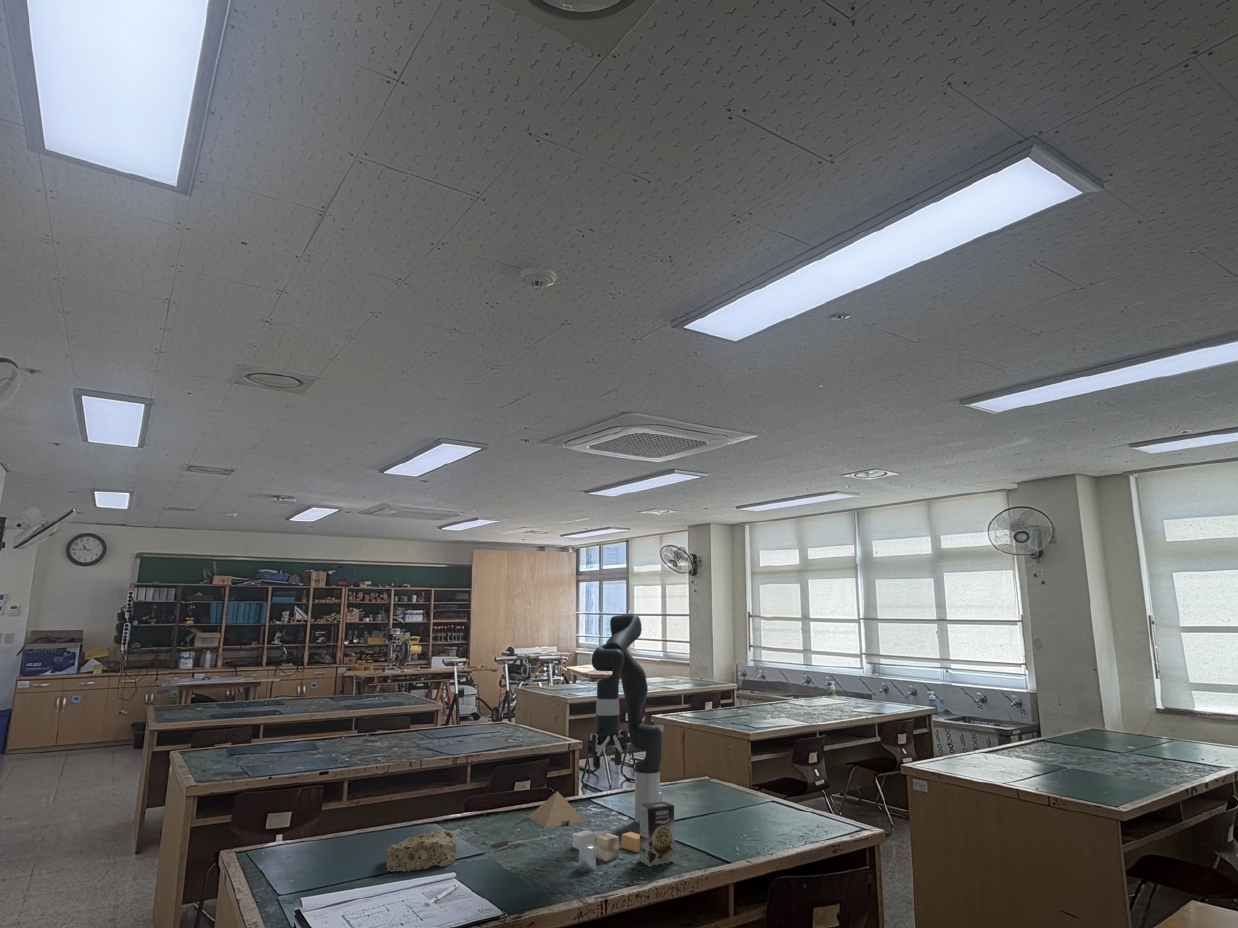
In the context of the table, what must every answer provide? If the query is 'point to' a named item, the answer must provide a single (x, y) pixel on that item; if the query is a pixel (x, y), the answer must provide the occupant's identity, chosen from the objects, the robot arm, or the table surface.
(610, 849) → the maple block
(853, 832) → the table surface
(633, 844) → the orange plastic block
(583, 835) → the off-white plastic block
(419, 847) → the rock
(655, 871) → the table surface
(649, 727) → the robot arm
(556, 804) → the model pyramid
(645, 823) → the coffee box
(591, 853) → the brushed metal cylinder
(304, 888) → the table surface
